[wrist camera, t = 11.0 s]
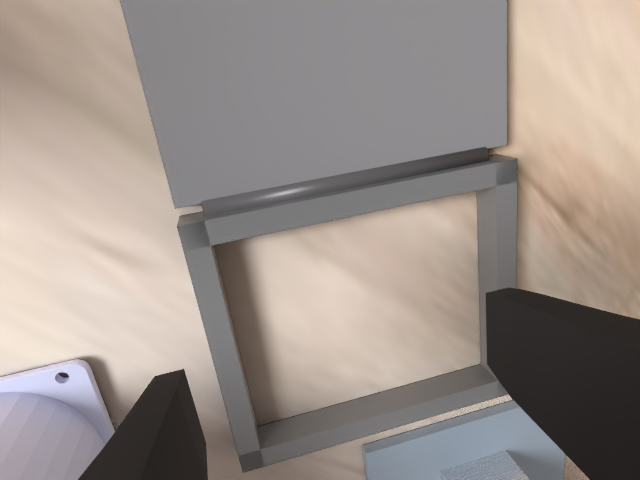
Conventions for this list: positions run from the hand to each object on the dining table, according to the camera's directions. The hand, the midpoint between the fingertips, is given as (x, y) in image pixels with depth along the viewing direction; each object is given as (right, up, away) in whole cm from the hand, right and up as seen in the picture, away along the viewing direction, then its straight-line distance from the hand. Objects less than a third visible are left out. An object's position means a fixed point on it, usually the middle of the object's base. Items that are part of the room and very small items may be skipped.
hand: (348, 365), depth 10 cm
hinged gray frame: (0, +6, +8) cm, 10 cm away
